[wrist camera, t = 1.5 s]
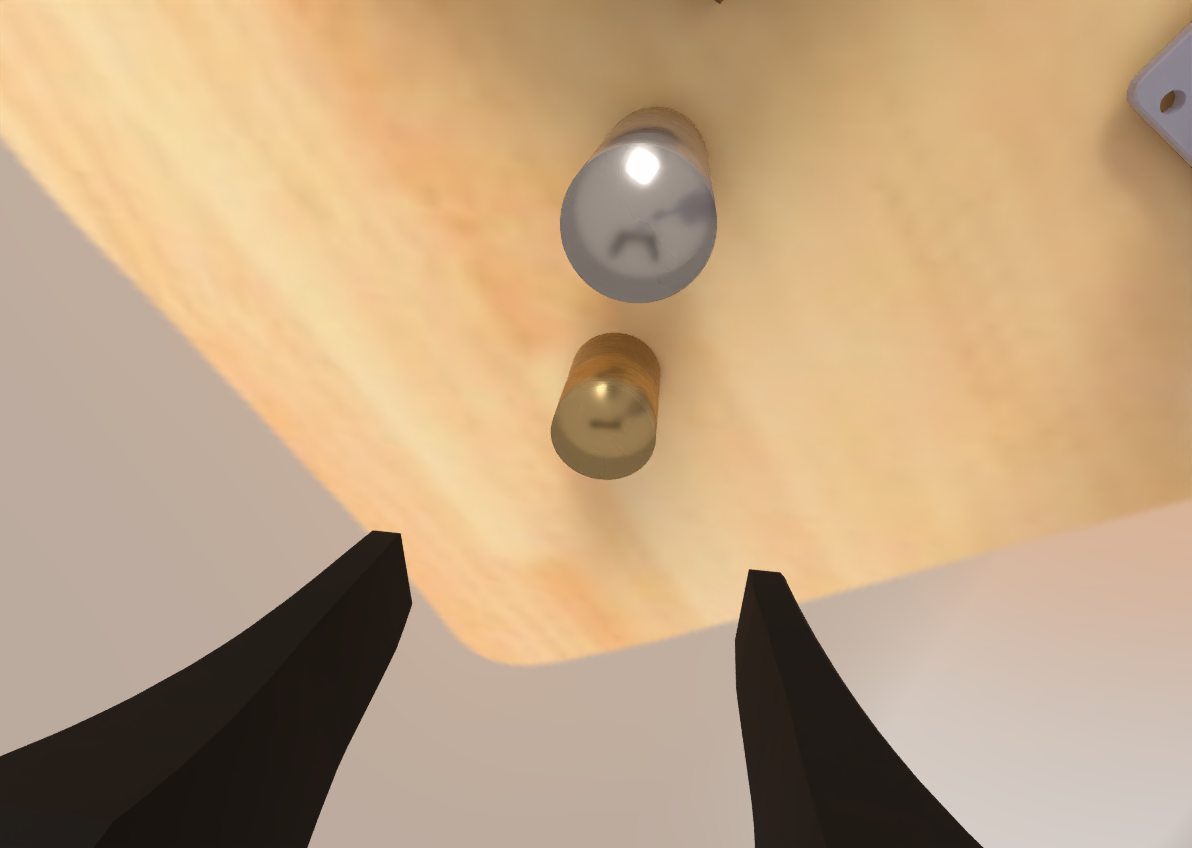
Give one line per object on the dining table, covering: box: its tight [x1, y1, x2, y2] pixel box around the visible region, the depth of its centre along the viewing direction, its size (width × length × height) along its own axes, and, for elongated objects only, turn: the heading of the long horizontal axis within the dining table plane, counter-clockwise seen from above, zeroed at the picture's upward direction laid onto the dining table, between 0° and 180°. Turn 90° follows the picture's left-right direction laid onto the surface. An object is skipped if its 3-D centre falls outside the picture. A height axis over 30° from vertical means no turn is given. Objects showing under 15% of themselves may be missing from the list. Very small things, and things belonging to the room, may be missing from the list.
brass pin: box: [551, 333, 661, 480], centre depth 20 cm, size 3×3×4 cm
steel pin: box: [560, 107, 717, 303], centre depth 16 cm, size 3×3×7 cm
